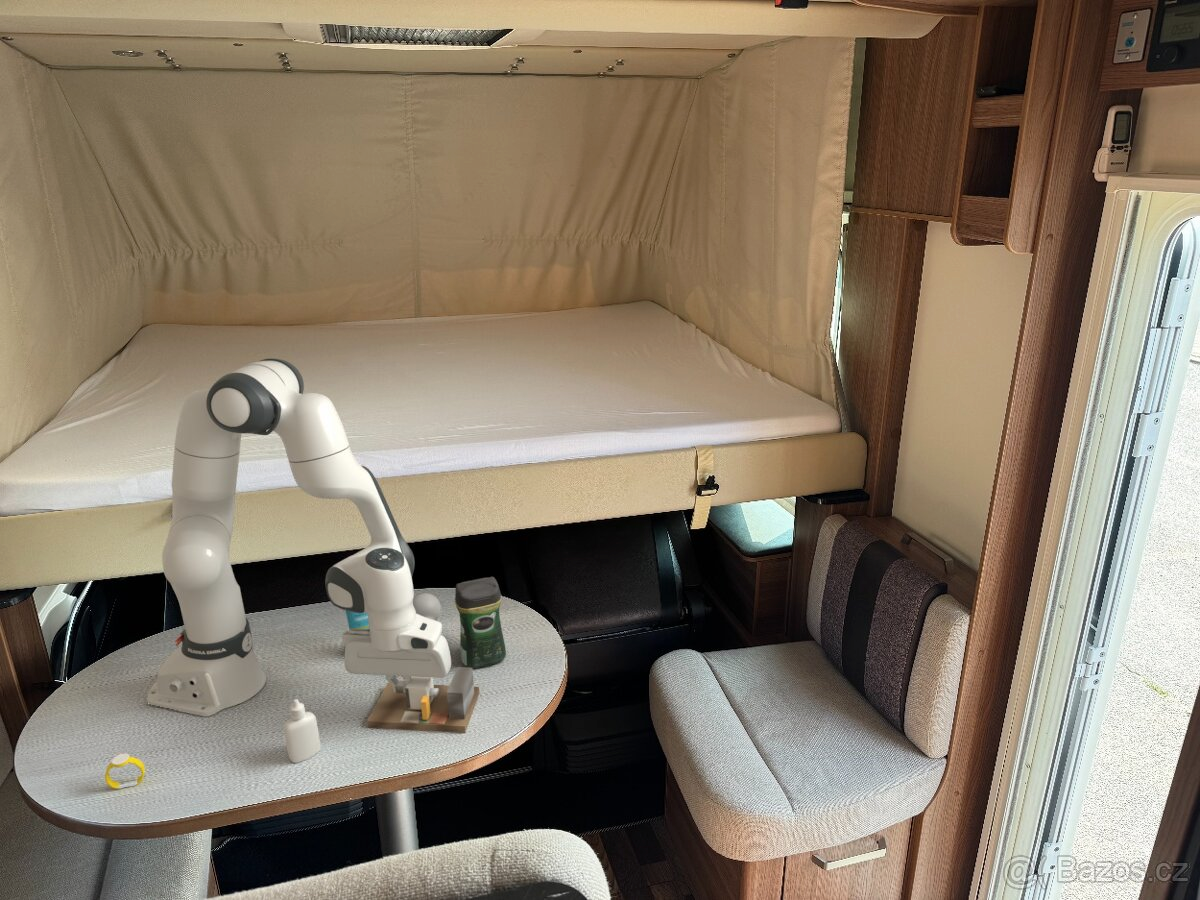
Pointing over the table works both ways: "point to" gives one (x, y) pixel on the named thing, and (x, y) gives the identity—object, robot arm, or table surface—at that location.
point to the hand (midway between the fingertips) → (401, 691)
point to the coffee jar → (480, 622)
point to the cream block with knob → (420, 692)
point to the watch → (120, 762)
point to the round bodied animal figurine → (427, 606)
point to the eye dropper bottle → (301, 734)
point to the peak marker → (425, 707)
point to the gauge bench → (446, 709)
